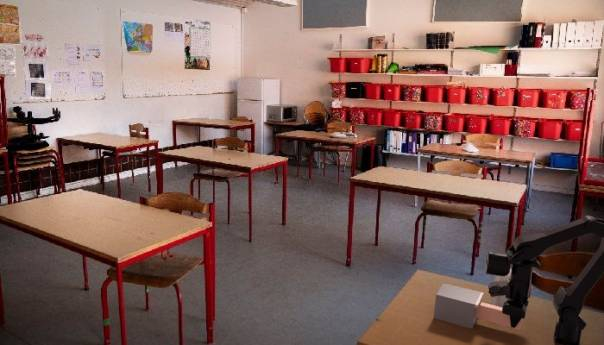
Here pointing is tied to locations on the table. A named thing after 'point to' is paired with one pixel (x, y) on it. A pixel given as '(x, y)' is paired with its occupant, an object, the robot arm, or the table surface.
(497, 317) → the pink rectangular block
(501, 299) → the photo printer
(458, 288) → the pale grey box
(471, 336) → the table surface
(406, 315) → the table surface
